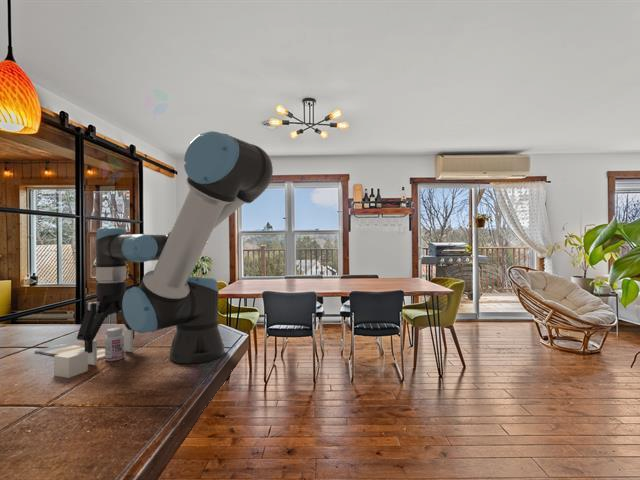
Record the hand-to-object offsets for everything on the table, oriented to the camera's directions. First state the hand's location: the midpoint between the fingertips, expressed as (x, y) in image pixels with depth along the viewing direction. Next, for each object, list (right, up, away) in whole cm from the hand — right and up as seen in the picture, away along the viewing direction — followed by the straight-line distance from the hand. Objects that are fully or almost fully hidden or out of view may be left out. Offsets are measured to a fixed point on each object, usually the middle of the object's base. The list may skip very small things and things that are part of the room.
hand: (111, 357), depth 102 cm
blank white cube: (-3, 0, -12) cm, 12 cm away
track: (-13, 0, +5) cm, 14 cm away
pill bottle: (+1, 0, 0) cm, 1 cm away
